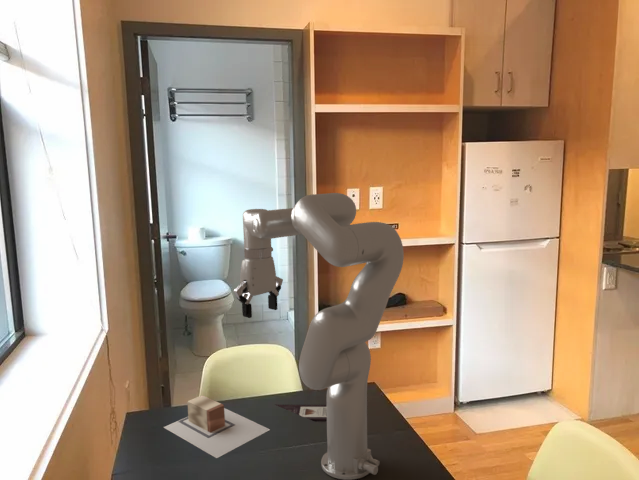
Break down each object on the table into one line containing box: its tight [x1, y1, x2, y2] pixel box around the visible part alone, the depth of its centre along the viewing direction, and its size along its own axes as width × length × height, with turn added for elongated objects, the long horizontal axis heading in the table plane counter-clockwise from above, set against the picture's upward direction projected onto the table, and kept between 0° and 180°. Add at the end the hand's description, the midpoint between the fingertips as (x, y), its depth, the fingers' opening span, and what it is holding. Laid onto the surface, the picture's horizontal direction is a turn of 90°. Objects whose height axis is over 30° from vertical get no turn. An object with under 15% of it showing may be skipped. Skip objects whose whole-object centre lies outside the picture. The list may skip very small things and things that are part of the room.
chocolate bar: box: [275, 404, 327, 422], centre depth 152 cm, size 9×1×18 cm
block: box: [186, 395, 225, 433], centre depth 145 cm, size 10×5×6 cm, turn 49°
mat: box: [163, 407, 271, 459], centre depth 143 cm, size 24×18×1 cm
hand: (260, 313), depth 148 cm, fingers open, 9 cm apart
